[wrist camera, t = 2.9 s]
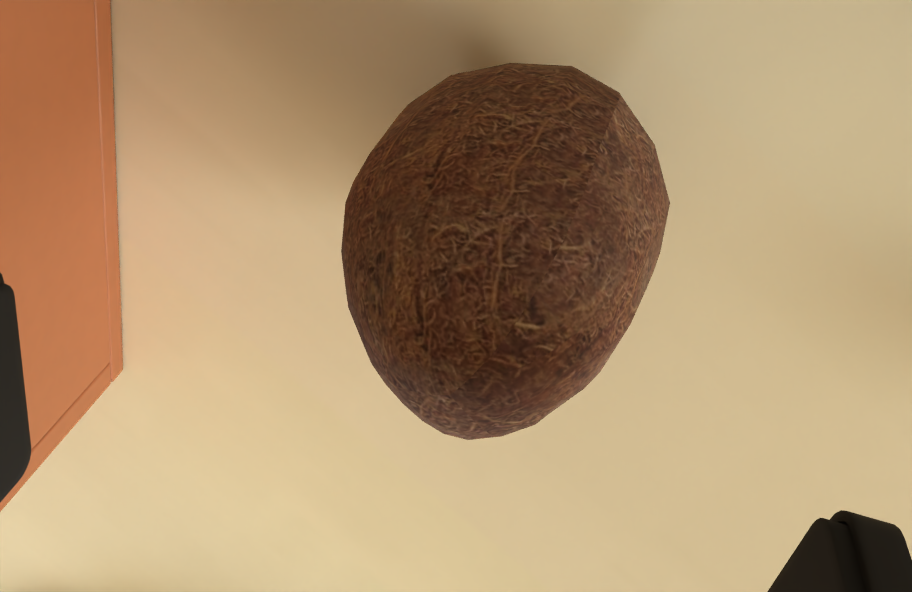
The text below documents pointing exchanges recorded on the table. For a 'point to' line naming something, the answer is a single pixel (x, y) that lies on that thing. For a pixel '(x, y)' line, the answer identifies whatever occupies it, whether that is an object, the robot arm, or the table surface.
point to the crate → (59, 209)
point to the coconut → (502, 244)
